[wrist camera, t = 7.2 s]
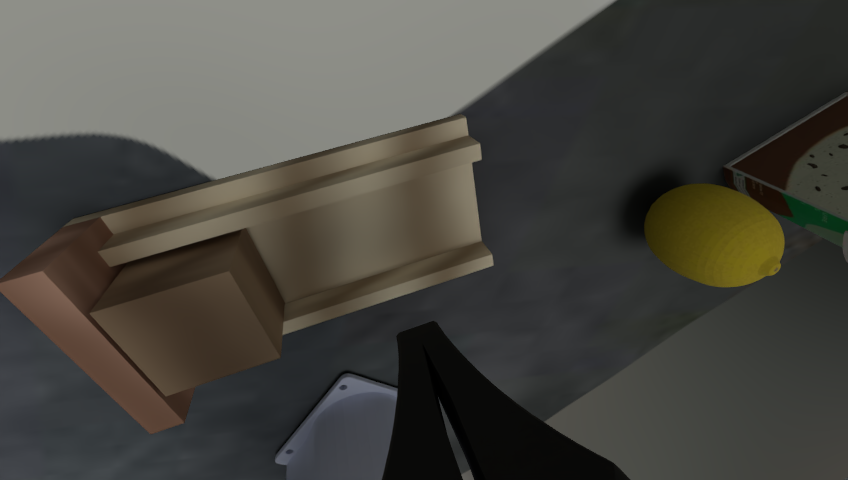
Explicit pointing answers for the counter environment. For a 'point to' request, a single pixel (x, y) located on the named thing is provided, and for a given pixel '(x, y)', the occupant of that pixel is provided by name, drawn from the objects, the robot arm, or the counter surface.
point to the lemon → (714, 235)
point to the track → (271, 245)
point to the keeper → (195, 312)
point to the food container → (802, 172)
